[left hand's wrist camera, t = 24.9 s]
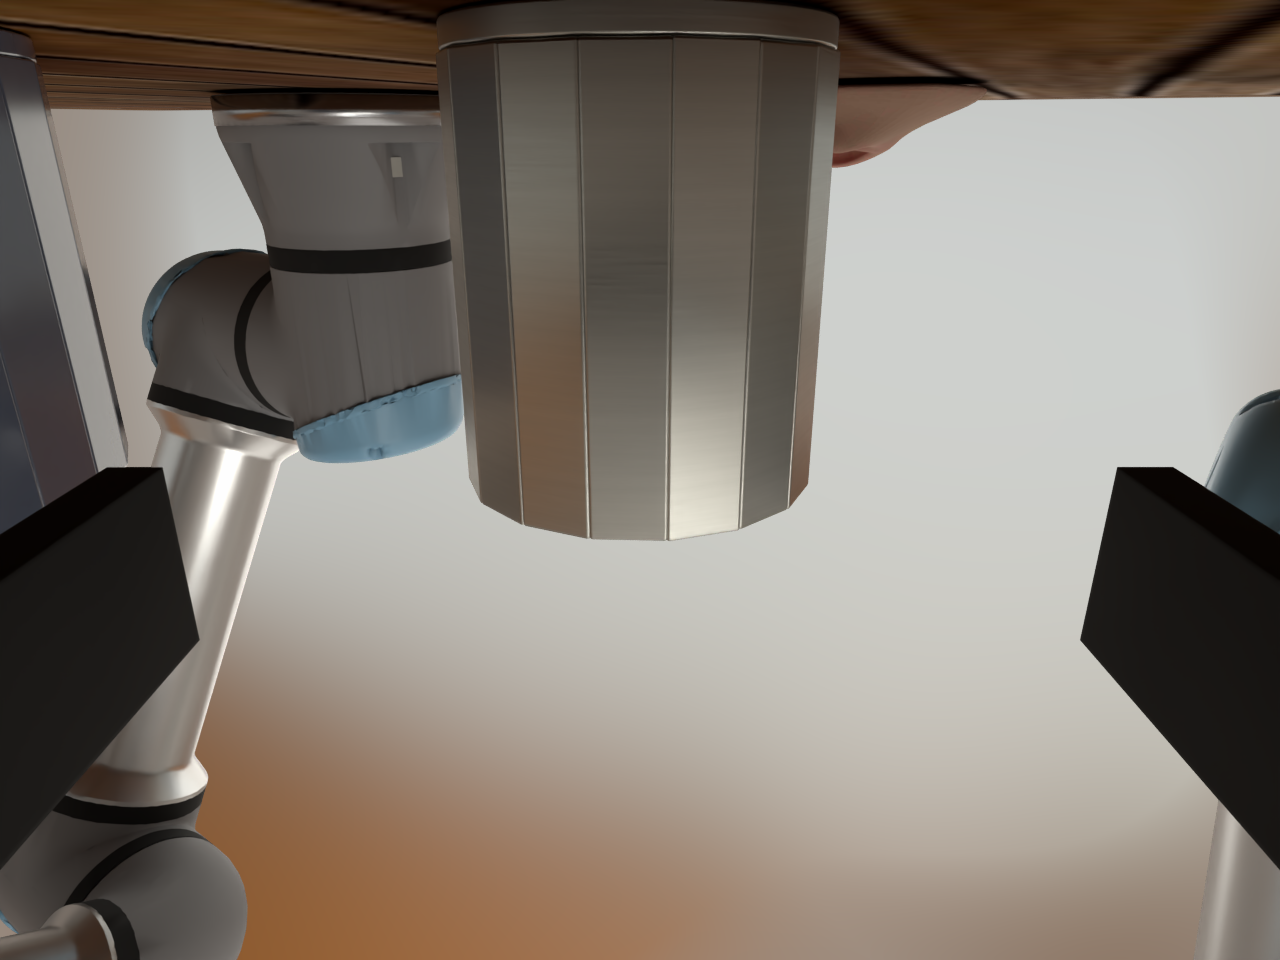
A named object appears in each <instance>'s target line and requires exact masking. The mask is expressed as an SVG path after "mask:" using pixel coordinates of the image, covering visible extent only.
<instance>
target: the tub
mask: <svg viewBox="0 0 1280 960" xmlns="http://www.w3.org/2000/svg"><path fill="white" fill-rule="evenodd" d="M127 464H128V442H127V438H126V434H125V429H124V425H123V421H122V417H121V412H120V408H119V404H118V399H117V395H116V391H115V386H114V382H113V378H112V373H111V369H110V365H109V360H108V356H107V352H106V347H105V343H104V339H103V334H102V330H101V326H100V321H99V317H98V313H97V308H96V304H95V300H94V295H93V291H92V287H91V283H90V278H89V274H88V269H87V265H86V261H85V256H84V252H83V248H82V244H81V239H80V235H79V231H78V226H77V222H76V218H75V213H74V209H73V205H72V200H71V196H70V192H69V188H68V183H67V179H66V174H65V170H64V166H63V161H62V157H61V153H60V148H59V144H58V140H57V136H56V131H55V127H54V123H53V118H52V114H51V110H50V105H49V101H48V97H47V92H46V88H45V84H44V79H43V75H42V71H41V67H40V65H38V64H37V59H36V55H35V50H34V46H33V42H32V40H31V39H30V38H29V37H27V36H25V35H22V34H19V33H16V32H12V31H8V30H3V29H0V534H1V533H3V532H5V531H6V530H8V529H9V528H11V527H12V526H14V525H16V524H17V523H19V522H20V521H22V520H24V519H25V518H27V517H28V516H30V515H32V514H33V513H35V512H36V511H38V510H40V509H41V508H43V507H44V506H46V505H48V504H49V503H51V502H52V501H54V500H55V499H57V498H59V497H60V496H62V495H63V494H65V493H67V492H68V491H70V490H71V489H73V488H75V487H76V486H78V485H79V484H81V483H83V482H84V481H86V480H87V479H89V478H90V477H92V476H94V475H95V474H97V473H98V472H100V471H102V470H103V469H105V468H106V467H126V466H127Z"/></svg>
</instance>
